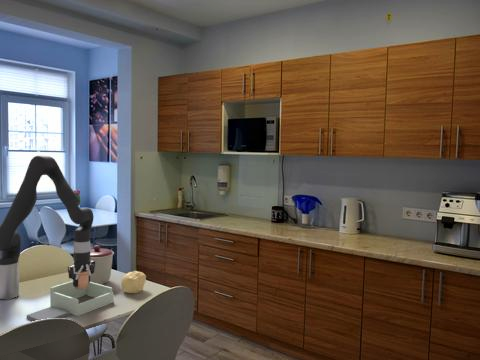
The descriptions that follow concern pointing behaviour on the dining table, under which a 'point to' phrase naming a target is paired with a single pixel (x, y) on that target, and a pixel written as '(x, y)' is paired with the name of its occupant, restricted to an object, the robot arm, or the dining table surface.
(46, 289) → the dining table surface
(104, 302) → the pale green open box
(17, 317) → the dining table surface
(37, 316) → the slate board
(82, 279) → the terracotta pot
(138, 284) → the sculpture
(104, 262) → the canister
